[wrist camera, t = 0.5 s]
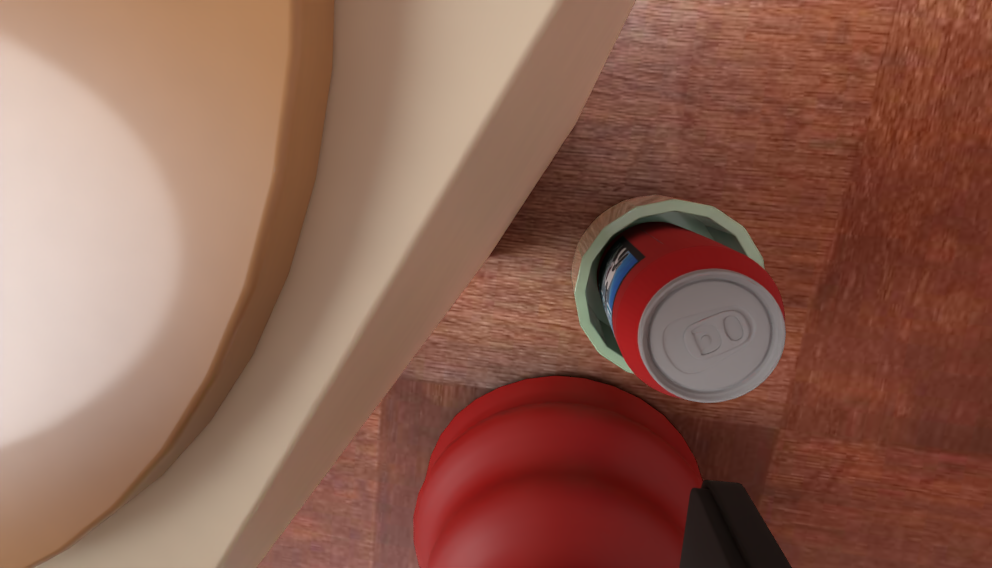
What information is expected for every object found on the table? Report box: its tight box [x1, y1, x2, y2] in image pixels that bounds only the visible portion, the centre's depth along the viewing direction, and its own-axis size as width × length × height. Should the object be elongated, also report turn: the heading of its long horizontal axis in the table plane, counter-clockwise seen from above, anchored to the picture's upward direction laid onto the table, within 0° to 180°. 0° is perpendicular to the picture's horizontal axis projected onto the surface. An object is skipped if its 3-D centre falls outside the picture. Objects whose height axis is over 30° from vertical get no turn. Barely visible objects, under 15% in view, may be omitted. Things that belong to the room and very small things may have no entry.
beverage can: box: [597, 222, 786, 403], centre depth 24 cm, size 7×7×12 cm
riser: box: [35, 0, 636, 568], centre depth 16 cm, size 10×10×28 cm
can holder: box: [571, 194, 765, 374], centre depth 28 cm, size 10×10×6 cm
